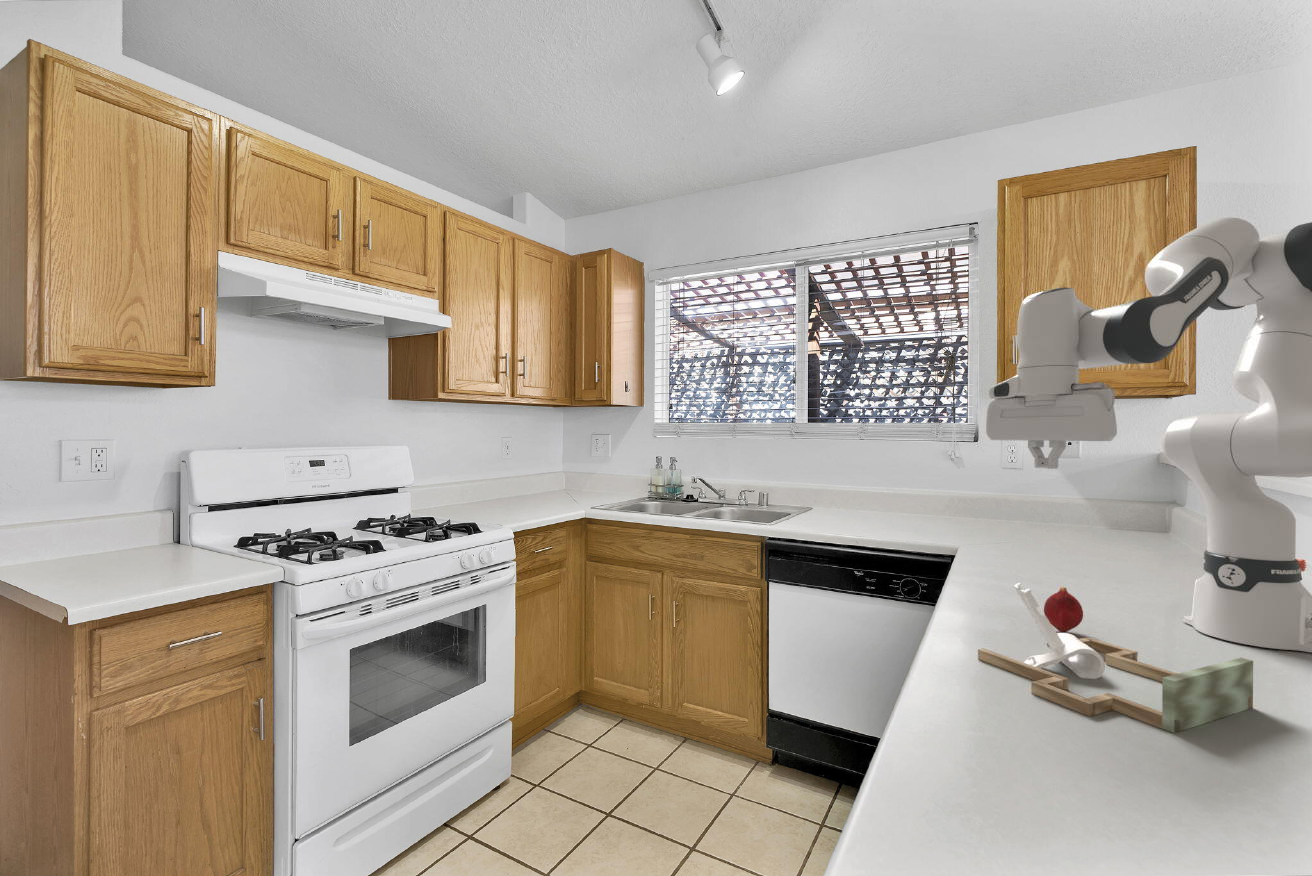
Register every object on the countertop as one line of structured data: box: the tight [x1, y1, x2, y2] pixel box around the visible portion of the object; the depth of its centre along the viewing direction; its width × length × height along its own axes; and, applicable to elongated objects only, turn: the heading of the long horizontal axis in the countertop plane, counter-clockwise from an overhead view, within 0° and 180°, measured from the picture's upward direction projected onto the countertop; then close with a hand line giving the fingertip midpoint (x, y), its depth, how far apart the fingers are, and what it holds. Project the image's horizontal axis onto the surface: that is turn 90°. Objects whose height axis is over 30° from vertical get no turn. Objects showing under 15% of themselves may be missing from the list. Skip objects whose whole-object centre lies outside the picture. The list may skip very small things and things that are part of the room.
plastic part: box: [1013, 582, 1106, 680], centre depth 92 cm, size 8×10×12 cm
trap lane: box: [977, 636, 1254, 734], centre depth 87 cm, size 27×26×6 cm
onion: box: [1043, 586, 1084, 633], centre depth 109 cm, size 6×6×8 cm
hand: (1046, 468), depth 103 cm, fingers closed
